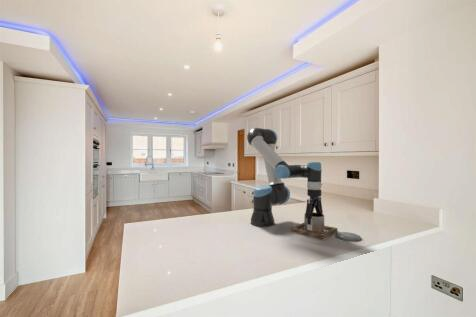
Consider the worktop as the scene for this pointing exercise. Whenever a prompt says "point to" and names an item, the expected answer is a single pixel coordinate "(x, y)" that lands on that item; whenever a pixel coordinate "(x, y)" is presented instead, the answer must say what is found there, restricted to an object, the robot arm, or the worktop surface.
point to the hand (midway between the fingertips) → (314, 227)
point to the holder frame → (321, 236)
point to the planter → (316, 223)
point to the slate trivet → (348, 236)
